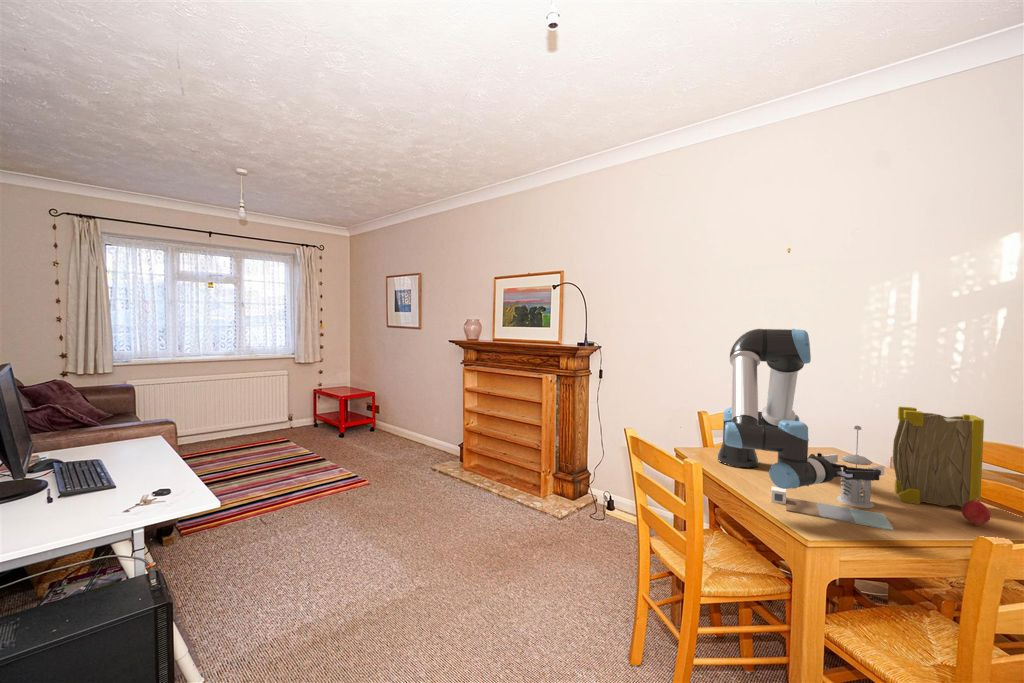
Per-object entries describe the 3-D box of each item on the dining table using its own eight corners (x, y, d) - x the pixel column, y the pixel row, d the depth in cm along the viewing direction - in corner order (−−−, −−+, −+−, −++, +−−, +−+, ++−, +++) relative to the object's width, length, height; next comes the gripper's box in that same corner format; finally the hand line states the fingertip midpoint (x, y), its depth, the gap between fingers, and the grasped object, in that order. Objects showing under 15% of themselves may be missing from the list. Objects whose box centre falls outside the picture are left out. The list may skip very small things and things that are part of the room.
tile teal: (855, 523, 129) (855, 522, 129) (848, 509, 139) (848, 508, 139) (893, 530, 125) (893, 529, 125) (883, 515, 135) (883, 513, 135)
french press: (863, 497, 150) (866, 423, 149) (884, 511, 138) (888, 431, 137) (830, 495, 152) (833, 421, 151) (848, 508, 140) (851, 429, 139)
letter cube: (771, 502, 145) (771, 490, 144) (771, 498, 148) (771, 486, 148) (785, 504, 143) (786, 492, 142) (785, 500, 146) (785, 488, 146)
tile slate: (819, 517, 133) (819, 515, 133) (816, 503, 144) (816, 502, 144) (855, 523, 129) (855, 522, 129) (848, 509, 139) (848, 508, 139)
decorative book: (970, 503, 145) (974, 411, 144) (982, 515, 136) (986, 417, 135) (890, 491, 156) (893, 405, 155) (896, 501, 147) (900, 410, 146)
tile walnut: (786, 510, 137) (786, 509, 137) (785, 498, 148) (785, 497, 148) (819, 517, 133) (819, 515, 133) (816, 503, 144) (816, 502, 144)
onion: (956, 523, 130) (958, 495, 130) (967, 519, 133) (968, 493, 132) (984, 531, 125) (985, 503, 125) (994, 528, 127) (995, 500, 127)
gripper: (776, 470, 148) (819, 464, 156) (858, 497, 125) (904, 488, 133) (776, 448, 148) (819, 442, 155) (859, 471, 124) (905, 463, 132)
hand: (858, 463), depth 144 cm, fingers open, 13 cm apart
